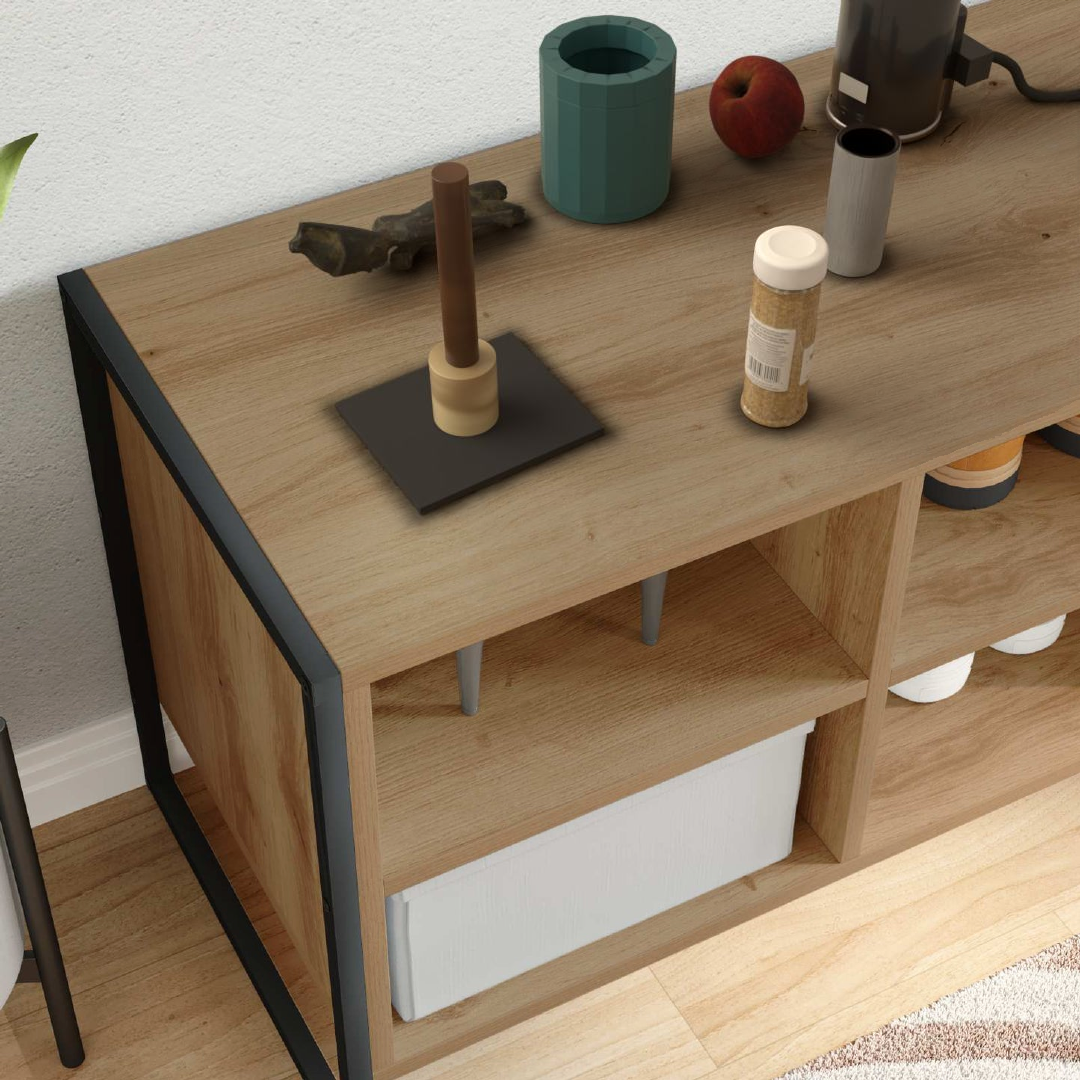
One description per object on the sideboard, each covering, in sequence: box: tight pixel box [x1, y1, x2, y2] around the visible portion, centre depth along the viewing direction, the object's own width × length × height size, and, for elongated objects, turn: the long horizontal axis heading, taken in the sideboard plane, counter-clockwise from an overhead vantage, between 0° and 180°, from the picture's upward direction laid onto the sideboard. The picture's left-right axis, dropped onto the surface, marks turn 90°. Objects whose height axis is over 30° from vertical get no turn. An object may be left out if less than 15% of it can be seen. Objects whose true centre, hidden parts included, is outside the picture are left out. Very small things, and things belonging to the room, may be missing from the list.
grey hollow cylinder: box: [821, 123, 902, 278], centre depth 114 cm, size 4×4×10 cm
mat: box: [334, 331, 605, 516], centre depth 106 cm, size 14×12×1 cm
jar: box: [538, 14, 678, 225], centre depth 120 cm, size 10×10×12 cm
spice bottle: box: [740, 224, 829, 428], centre depth 102 cm, size 5×5×13 cm
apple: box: [708, 54, 806, 159], centre depth 125 cm, size 7×8×8 cm
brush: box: [428, 161, 499, 437], centre depth 99 cm, size 4×4×19 cm
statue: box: [287, 179, 527, 278], centre depth 117 cm, size 6×6×20 cm
